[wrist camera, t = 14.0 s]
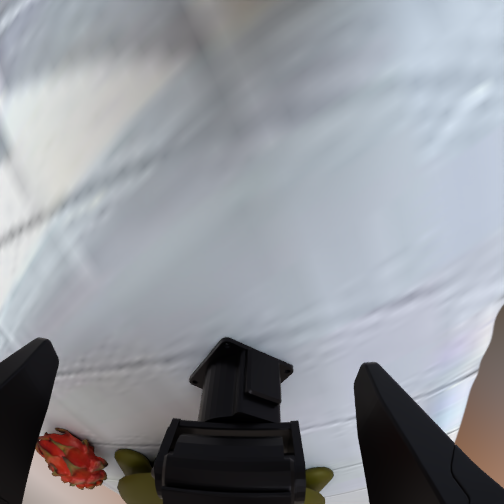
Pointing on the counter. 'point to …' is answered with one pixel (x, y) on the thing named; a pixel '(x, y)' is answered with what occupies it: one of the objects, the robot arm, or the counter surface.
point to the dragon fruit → (72, 459)
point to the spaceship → (146, 500)
